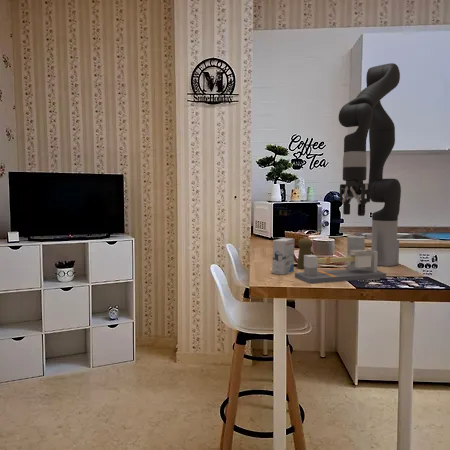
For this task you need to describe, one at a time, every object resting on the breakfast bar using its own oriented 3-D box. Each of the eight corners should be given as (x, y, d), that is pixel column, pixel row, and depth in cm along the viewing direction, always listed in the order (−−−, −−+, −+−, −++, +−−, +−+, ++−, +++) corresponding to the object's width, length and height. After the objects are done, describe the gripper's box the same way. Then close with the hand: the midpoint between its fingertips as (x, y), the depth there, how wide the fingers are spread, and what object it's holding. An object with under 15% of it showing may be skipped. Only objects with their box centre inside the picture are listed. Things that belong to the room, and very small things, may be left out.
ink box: (281, 269, 151) (282, 237, 150) (294, 271, 148) (295, 238, 147) (271, 273, 143) (271, 240, 142) (285, 275, 141) (285, 240, 140)
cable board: (367, 272, 145) (367, 248, 144) (386, 278, 136) (386, 252, 135) (295, 277, 137) (295, 251, 136) (309, 283, 128) (309, 256, 127)
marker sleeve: (359, 263, 142) (360, 249, 141) (371, 266, 136) (371, 251, 135) (347, 264, 140) (347, 250, 140) (357, 267, 134) (358, 252, 134)
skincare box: (364, 268, 153) (365, 236, 152) (364, 270, 149) (365, 237, 148) (347, 267, 155) (347, 235, 154) (346, 269, 151) (347, 236, 150)
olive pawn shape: (313, 269, 150) (313, 239, 149) (296, 269, 151) (296, 239, 150) (313, 266, 156) (313, 238, 155) (296, 266, 157) (297, 237, 156)
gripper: (377, 164, 130) (376, 216, 132) (352, 167, 144) (351, 213, 145) (357, 164, 128) (356, 216, 130) (333, 167, 142) (332, 214, 143)
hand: (353, 215), depth 138 cm, fingers open, 8 cm apart
